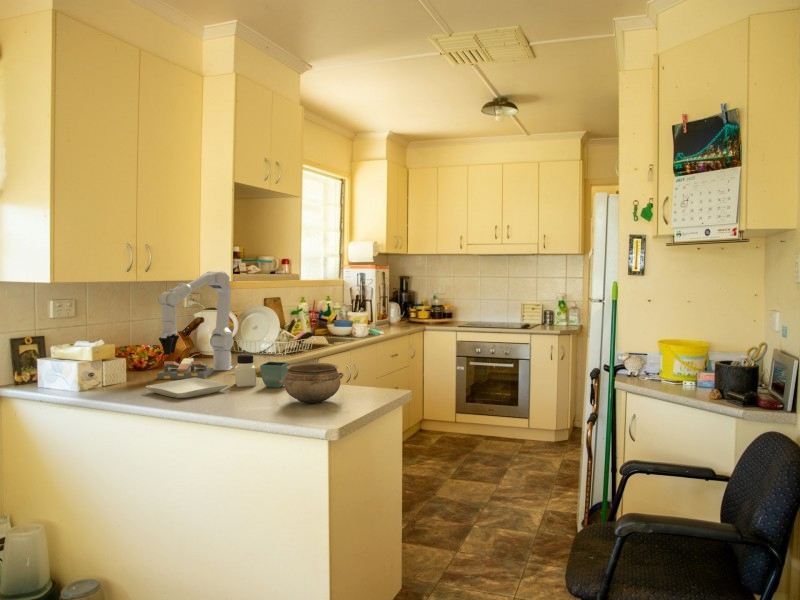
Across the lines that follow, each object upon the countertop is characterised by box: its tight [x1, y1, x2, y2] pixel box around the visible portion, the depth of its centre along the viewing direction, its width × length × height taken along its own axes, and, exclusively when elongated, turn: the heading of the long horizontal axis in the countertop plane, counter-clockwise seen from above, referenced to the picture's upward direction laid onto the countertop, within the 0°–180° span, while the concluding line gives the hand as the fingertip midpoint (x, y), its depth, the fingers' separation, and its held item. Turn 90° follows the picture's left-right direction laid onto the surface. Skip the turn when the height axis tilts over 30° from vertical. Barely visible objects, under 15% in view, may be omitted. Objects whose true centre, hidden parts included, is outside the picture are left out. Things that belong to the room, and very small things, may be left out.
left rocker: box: [163, 360, 181, 368], centre depth 263 cm, size 10×4×1 cm, turn 3°
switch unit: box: [156, 364, 214, 380], centre depth 263 cm, size 14×19×5 cm
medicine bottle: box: [234, 353, 257, 388], centre depth 243 cm, size 7×7×12 cm
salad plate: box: [145, 378, 228, 399], centre depth 228 cm, size 21×21×3 cm
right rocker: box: [191, 360, 207, 368], centre depth 263 cm, size 10×4×1 cm, turn 3°
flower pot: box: [259, 361, 290, 389], centre depth 240 cm, size 9×9×9 cm
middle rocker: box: [177, 357, 195, 372], centre depth 263 cm, size 10×4×1 cm, turn 3°
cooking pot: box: [279, 362, 344, 405], centre depth 212 cm, size 25×19×12 cm
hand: (169, 353), depth 259 cm, fingers open, 5 cm apart
